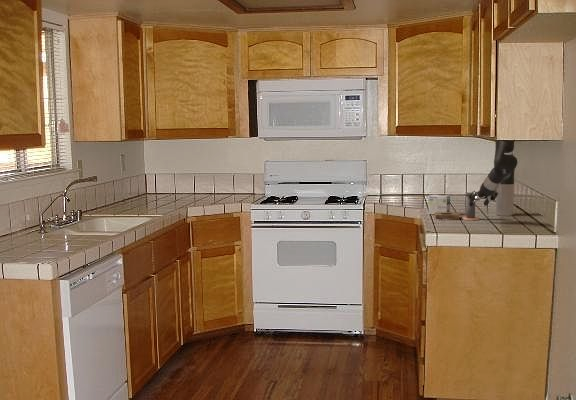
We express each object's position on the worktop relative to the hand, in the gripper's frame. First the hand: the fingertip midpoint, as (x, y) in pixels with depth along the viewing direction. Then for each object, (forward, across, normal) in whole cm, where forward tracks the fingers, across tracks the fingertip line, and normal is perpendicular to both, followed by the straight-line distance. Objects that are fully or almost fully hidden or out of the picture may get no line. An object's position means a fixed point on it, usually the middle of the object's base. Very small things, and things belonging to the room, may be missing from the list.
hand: (477, 205), depth 328 cm
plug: (+10, 0, +1) cm, 10 cm away
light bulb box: (+27, +5, -16) cm, 32 cm away
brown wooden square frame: (+16, +9, -5) cm, 19 cm away
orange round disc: (+11, 0, +1) cm, 11 cm away
